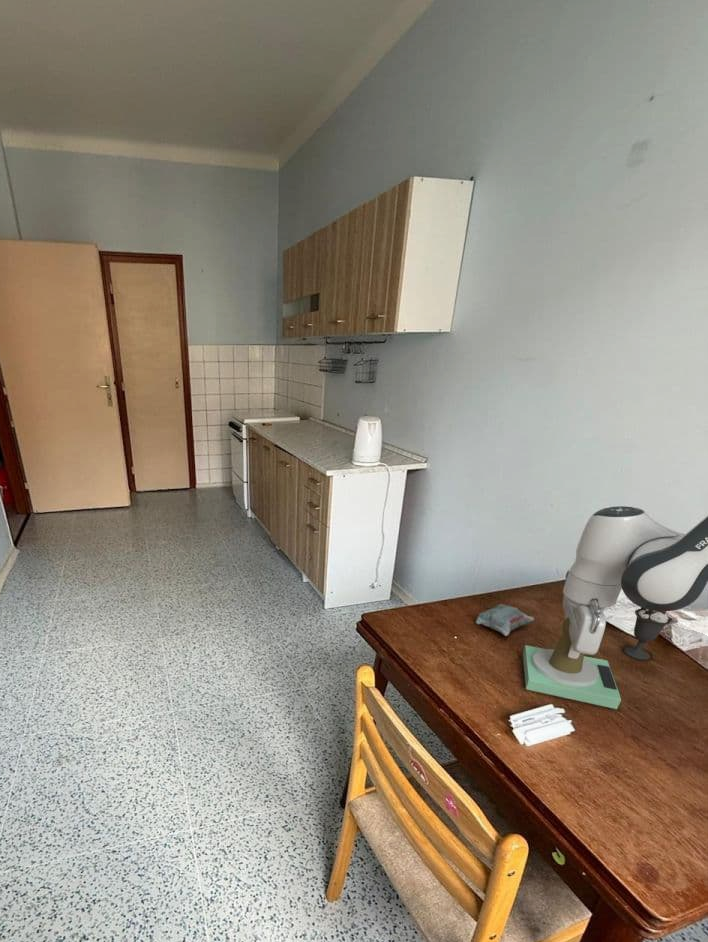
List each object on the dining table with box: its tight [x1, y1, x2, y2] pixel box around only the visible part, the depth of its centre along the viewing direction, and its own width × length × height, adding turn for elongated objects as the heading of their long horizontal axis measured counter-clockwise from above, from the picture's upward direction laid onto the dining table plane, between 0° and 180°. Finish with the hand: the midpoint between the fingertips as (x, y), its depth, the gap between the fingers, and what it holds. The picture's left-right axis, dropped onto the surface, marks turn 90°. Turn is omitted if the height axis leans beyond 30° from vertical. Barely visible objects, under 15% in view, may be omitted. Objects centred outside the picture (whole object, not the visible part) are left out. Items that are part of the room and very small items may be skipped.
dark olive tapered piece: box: [549, 618, 585, 673], centre depth 97 cm, size 6×6×11 cm
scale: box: [522, 644, 622, 710], centre depth 100 cm, size 16×14×4 cm
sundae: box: [623, 607, 673, 661], centre depth 105 cm, size 7×7×15 cm
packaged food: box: [475, 603, 535, 637], centre depth 119 cm, size 9×12×5 cm
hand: (570, 648), depth 98 cm, fingers closed on dark olive tapered piece, 5 cm apart
